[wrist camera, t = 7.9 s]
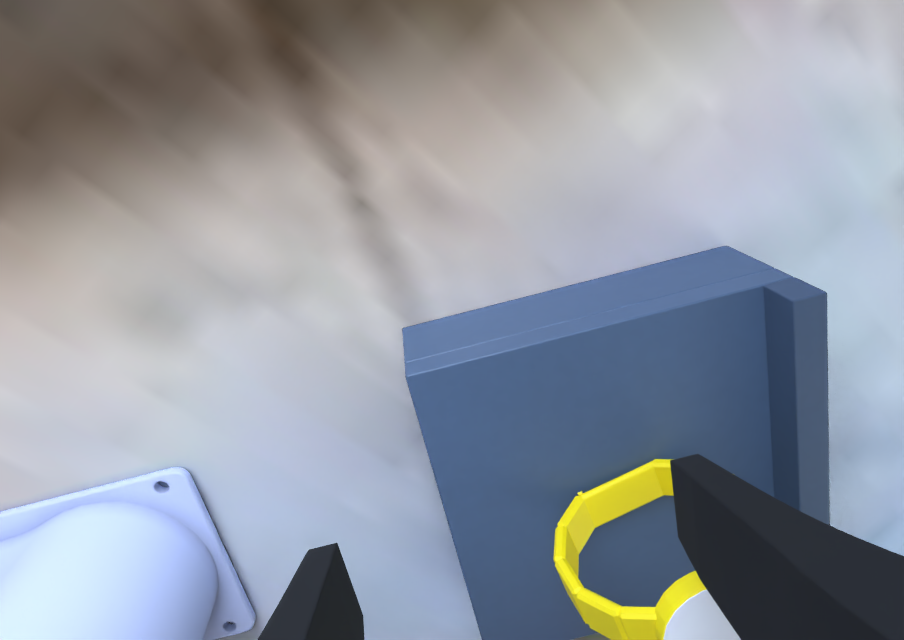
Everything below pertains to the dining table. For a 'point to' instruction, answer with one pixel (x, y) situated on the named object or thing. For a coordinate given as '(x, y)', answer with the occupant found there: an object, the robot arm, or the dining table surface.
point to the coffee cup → (593, 637)
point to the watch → (633, 628)
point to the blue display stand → (615, 422)
